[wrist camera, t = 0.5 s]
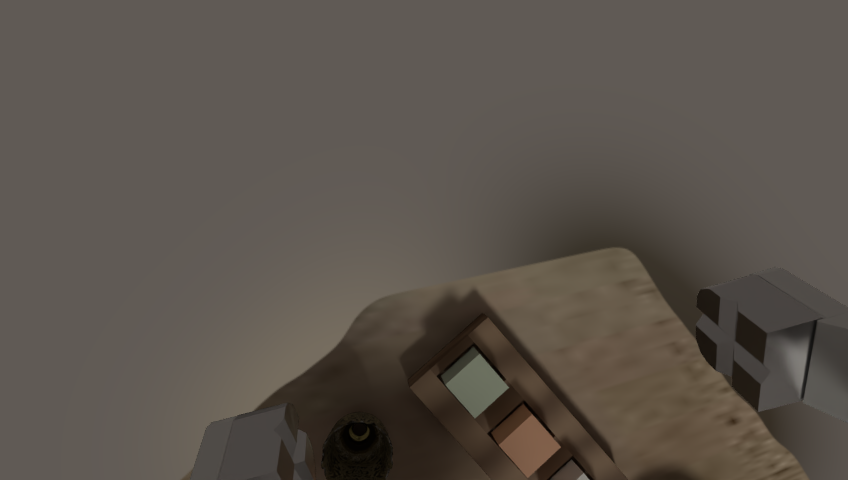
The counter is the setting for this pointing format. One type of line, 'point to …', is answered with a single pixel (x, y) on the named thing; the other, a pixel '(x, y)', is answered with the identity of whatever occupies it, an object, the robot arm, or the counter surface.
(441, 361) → the walnut button board
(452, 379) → the sage button
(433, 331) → the counter surface
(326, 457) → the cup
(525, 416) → the terracotta button
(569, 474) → the grey button
